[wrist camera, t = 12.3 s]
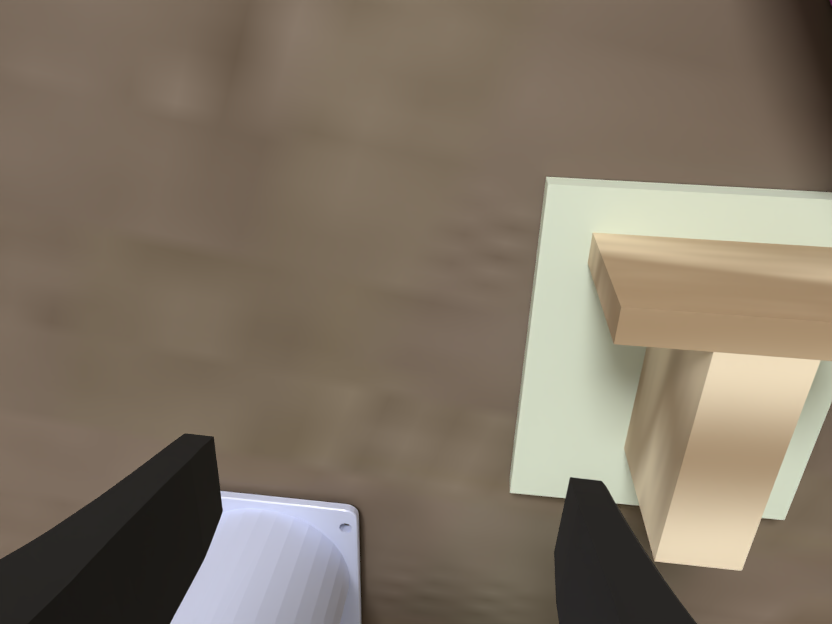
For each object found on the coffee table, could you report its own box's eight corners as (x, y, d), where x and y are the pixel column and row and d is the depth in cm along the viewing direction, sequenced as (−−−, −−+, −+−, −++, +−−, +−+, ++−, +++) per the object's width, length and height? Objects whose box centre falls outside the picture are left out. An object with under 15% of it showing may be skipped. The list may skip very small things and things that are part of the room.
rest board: (775, 504, 24) (784, 520, 23) (509, 478, 25) (509, 492, 24) (894, 195, 18) (910, 204, 18) (545, 176, 19) (547, 184, 19)
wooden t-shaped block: (761, 461, 22) (826, 579, 18) (558, 442, 23) (572, 552, 18) (837, 247, 18) (944, 330, 14) (592, 232, 19) (621, 307, 15)
